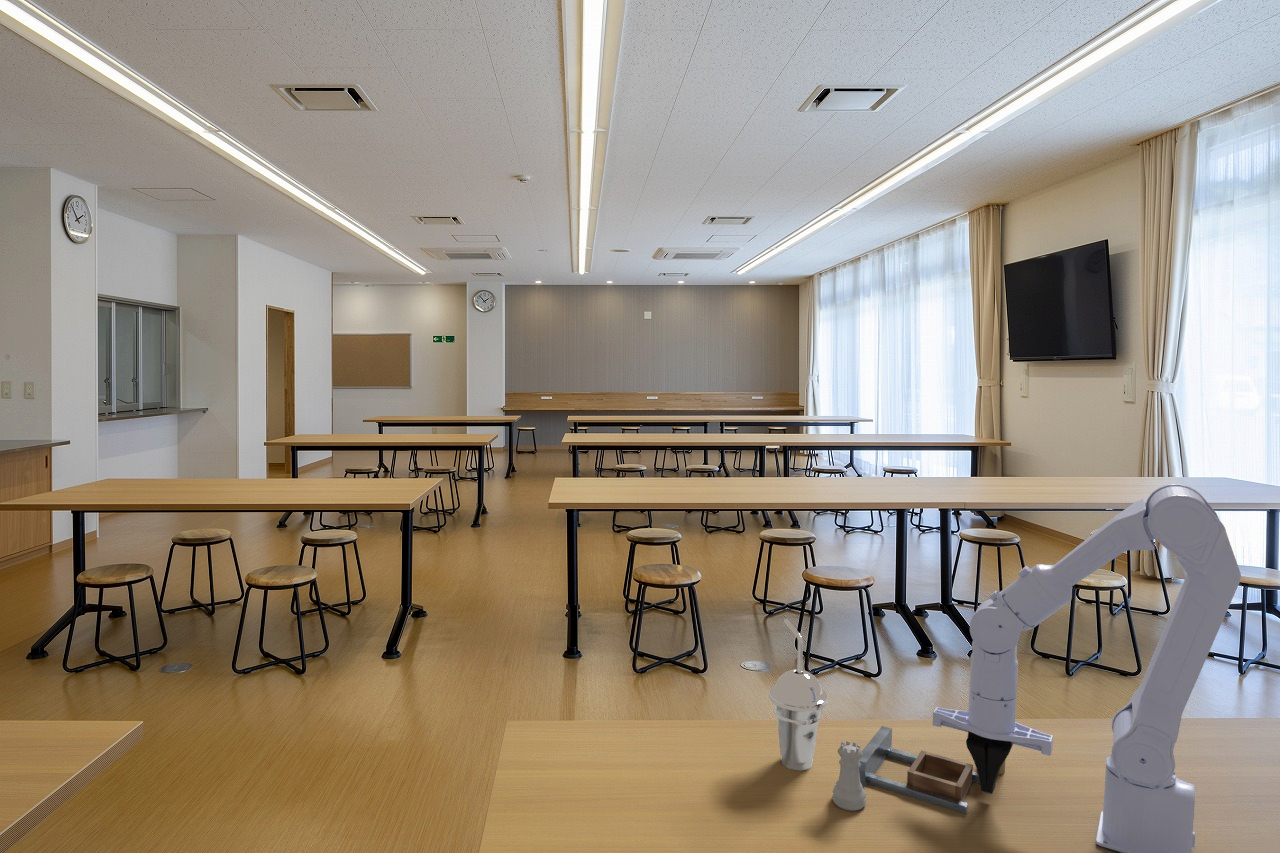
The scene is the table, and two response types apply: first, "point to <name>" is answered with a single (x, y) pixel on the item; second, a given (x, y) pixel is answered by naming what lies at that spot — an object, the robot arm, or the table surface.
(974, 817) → the table surface
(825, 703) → the cup with straw
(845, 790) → the rook chess piece
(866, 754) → the rail
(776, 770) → the table surface
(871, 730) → the table surface
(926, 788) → the walnut socket block
